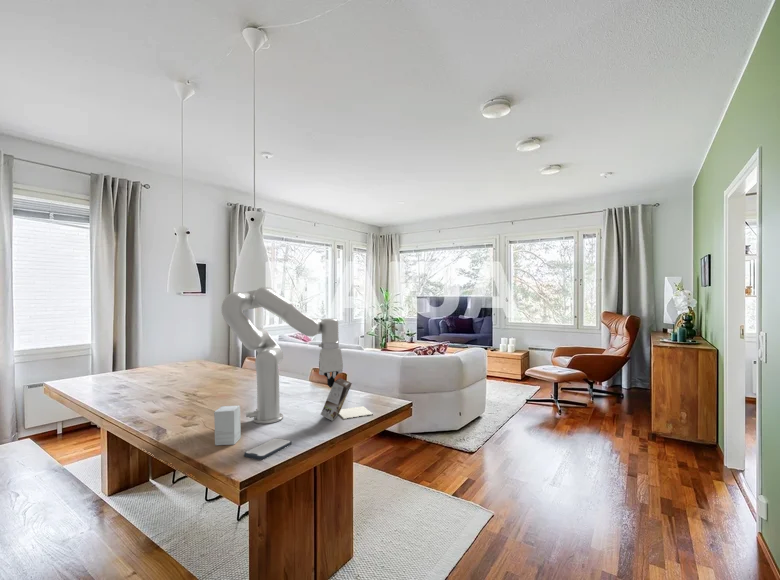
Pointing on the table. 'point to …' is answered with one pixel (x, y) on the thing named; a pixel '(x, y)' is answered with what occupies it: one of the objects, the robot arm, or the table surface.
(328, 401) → the coffee box
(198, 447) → the table surface
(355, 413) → the cream mat
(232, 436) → the supplement box
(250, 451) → the phone case
